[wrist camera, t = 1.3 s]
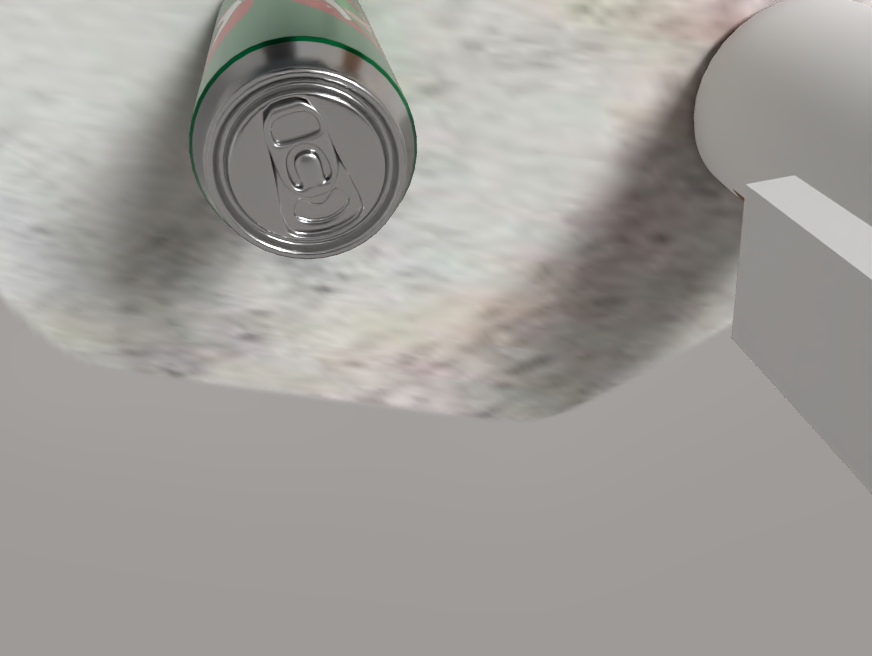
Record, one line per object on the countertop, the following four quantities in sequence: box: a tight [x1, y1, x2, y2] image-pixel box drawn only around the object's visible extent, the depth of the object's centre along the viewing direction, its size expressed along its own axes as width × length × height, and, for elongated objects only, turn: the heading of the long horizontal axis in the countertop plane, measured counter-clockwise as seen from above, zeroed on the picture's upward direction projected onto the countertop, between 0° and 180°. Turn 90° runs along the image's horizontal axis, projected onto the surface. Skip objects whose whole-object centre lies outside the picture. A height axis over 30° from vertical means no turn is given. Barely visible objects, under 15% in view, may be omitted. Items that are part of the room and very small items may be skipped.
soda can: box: [189, 0, 417, 259], centre depth 22 cm, size 5×5×12 cm
